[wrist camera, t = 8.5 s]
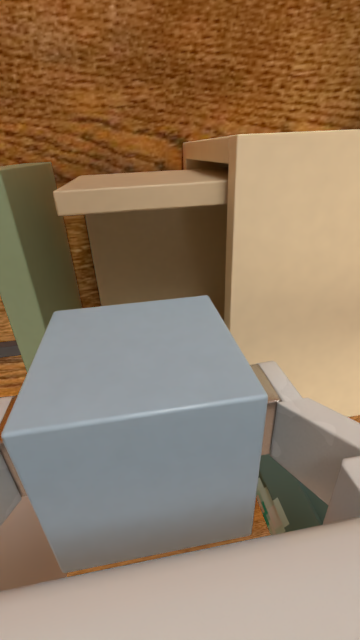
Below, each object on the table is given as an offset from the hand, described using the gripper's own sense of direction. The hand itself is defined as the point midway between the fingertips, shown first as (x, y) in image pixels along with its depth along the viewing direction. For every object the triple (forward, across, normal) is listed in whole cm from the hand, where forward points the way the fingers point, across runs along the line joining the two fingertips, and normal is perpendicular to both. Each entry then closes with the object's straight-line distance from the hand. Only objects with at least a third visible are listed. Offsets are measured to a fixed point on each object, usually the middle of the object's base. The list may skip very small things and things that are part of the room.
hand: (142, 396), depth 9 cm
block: (+2, 0, 0) cm, 2 cm away
